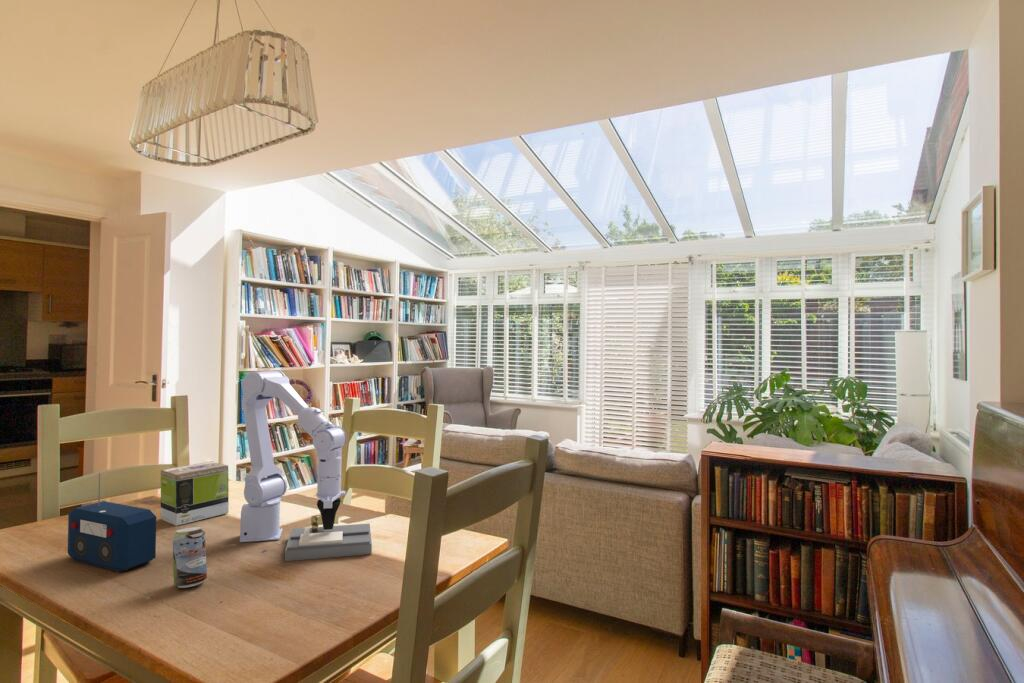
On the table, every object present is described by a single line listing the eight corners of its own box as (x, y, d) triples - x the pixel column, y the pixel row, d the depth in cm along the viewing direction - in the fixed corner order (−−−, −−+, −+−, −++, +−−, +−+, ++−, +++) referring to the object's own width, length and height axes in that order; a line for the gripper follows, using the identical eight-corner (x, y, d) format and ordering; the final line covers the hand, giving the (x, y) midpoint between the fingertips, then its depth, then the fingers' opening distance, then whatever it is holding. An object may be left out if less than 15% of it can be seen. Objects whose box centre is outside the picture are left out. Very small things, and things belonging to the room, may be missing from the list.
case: (284, 561, 133) (284, 548, 133) (291, 538, 148) (291, 526, 148) (371, 554, 138) (371, 541, 138) (369, 532, 154) (369, 521, 154)
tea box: (212, 507, 173) (213, 460, 173) (229, 514, 167) (230, 464, 167) (159, 519, 161) (160, 468, 161) (175, 527, 155) (176, 473, 155)
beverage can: (183, 594, 114) (184, 536, 114) (164, 585, 118) (165, 529, 118) (213, 583, 120) (214, 527, 120) (194, 575, 124) (195, 521, 124)
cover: (298, 547, 134) (299, 536, 134) (301, 538, 140) (301, 527, 140) (342, 543, 137) (342, 533, 137) (342, 535, 143) (342, 524, 143)
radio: (60, 560, 130) (62, 475, 130) (100, 548, 138) (102, 467, 138) (121, 576, 123) (123, 485, 123) (159, 562, 131) (161, 476, 131)
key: (310, 531, 145) (310, 517, 145) (311, 529, 147) (311, 515, 147) (338, 529, 147) (338, 516, 147) (338, 527, 149) (338, 513, 149)
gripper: (345, 481, 136) (344, 537, 136) (346, 468, 150) (345, 518, 150) (314, 482, 134) (313, 539, 134) (318, 469, 148) (317, 520, 148)
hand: (328, 528), depth 142 cm, fingers closed
